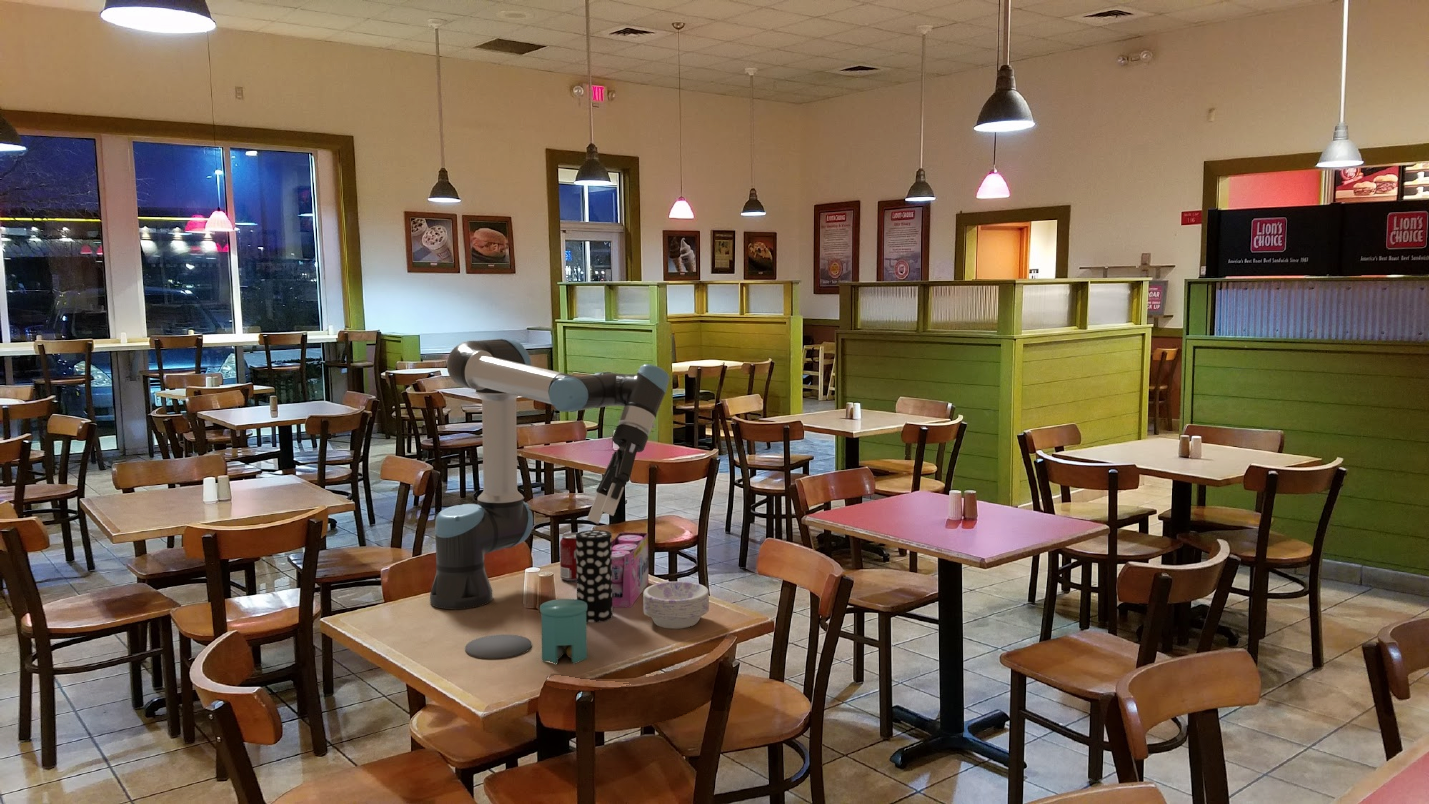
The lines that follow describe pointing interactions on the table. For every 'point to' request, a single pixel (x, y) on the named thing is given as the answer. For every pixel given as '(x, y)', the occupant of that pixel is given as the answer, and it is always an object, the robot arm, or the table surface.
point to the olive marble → (564, 648)
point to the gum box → (629, 568)
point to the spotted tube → (595, 573)
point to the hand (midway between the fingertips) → (599, 517)
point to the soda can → (568, 557)
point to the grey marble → (559, 651)
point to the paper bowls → (676, 603)
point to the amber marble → (569, 651)
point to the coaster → (498, 646)
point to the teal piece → (564, 628)
